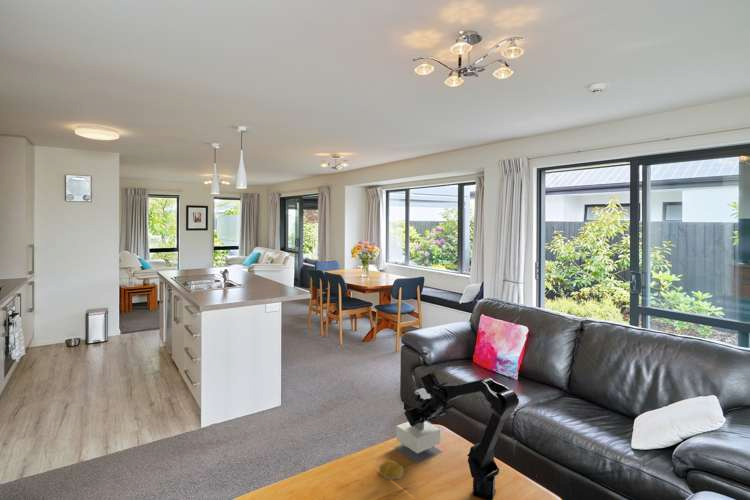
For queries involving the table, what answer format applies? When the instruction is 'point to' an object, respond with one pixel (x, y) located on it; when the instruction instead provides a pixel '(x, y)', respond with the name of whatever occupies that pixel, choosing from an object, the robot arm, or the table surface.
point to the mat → (418, 456)
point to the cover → (418, 436)
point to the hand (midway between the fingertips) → (416, 420)
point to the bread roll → (391, 470)
